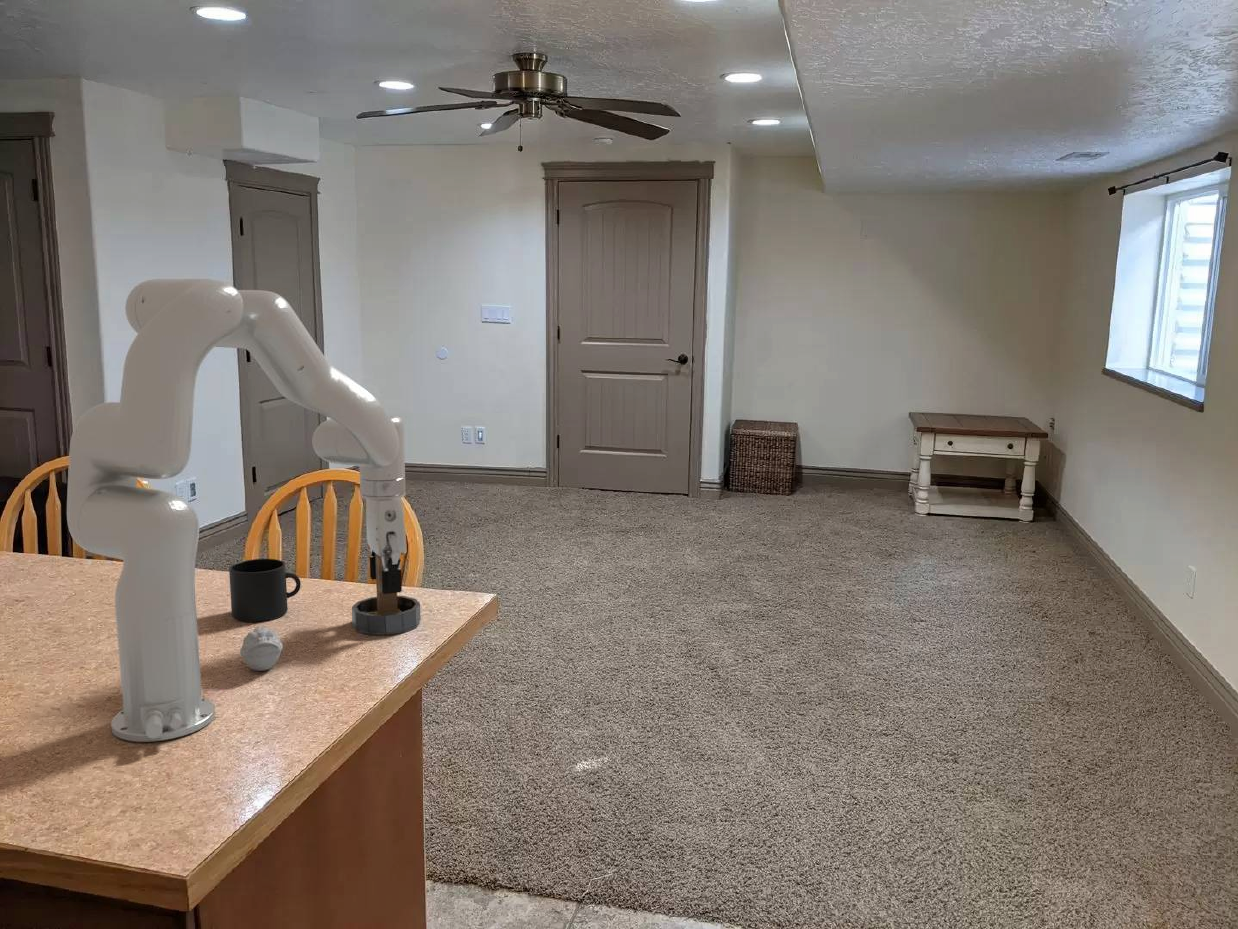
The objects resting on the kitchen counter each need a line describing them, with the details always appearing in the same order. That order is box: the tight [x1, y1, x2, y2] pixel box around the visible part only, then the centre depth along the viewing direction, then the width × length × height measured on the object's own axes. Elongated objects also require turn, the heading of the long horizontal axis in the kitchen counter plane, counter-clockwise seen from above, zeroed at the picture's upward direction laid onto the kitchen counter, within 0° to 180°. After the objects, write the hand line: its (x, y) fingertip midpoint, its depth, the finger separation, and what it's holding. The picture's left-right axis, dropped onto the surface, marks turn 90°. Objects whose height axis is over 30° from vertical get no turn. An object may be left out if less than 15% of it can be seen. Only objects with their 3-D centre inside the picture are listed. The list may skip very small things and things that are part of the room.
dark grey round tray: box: [351, 595, 421, 637], centre depth 170 cm, size 11×11×4 cm
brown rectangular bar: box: [375, 554, 398, 615], centre depth 169 cm, size 2×3×12 cm
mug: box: [228, 558, 302, 623], centre depth 174 cm, size 9×12×9 cm
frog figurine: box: [239, 626, 283, 672], centre depth 148 cm, size 6×7×7 cm
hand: (385, 585), depth 169 cm, fingers open, 8 cm apart
